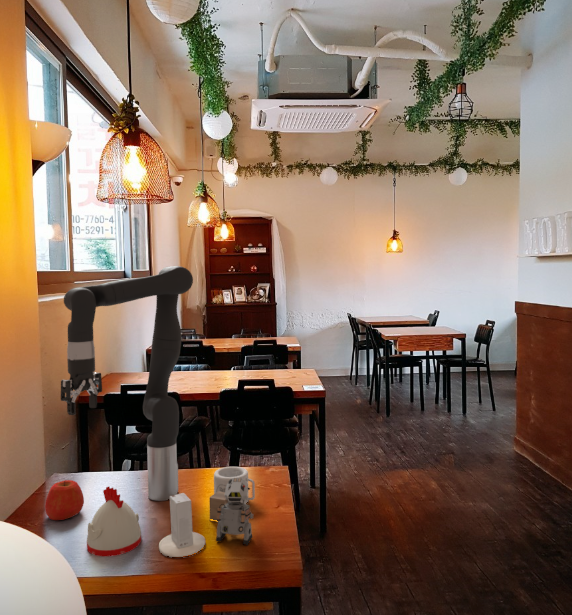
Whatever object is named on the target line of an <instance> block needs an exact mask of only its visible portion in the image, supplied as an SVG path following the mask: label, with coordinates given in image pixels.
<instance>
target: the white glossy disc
mask: <svg viewBox="0 0 572 615" xmlns="http://www.w3.org/2000/svg"><path fill="white" fill-rule="evenodd" d="M204 545H205V546H206V538H205V536H203V535H202V534H200V533H198V532H195V531H193V545H192V546H188V547H184V548H178V547H177V546H176V544H175V543H174V542H173V540H172V534H171V533H170V534H168V535H166V536H164V537H163V538H162V539H161V540H160V541H159V544H158V551H159V554H161V553H162V555H163V556H165V557H167V556H169V557H168V558H172V557H183V556H188V555H192V554H194V553H197V552H198V551H200V550H201V549H202V548H203V547H204ZM204 548H205V547H204ZM204 548H203V549H204ZM200 552H201V551H200ZM197 554H198V553H197ZM192 556H193V555H192ZM183 558H184V557H183Z"/></svg>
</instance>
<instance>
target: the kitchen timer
mask: <svg viewBox="0 0 572 615" xmlns="http://www.w3.org/2000/svg"><path fill="white" fill-rule="evenodd" d="M102 493H103V496H104V497H103V498H104V499H105V500H104V501H105V502H104V503H103V504H102V505H100V507H99V508H98V509H97V510H96V511H95V514H94V515H93V518H92V520H91V522H90V523H88V524H87V537H86V549H87V552H89V554H91V555H93V556H97V557H113V556H114V557H115V556H120V555H123V554H127V553H129V552H131V551H133V550H135V549H136V548H137V547H139V545H141V542H142V530H141V526H140V522H139V521H140V517H139V516H140V515H139V514H138V512H137V513H135V512H134V509H132V507H131V506H130V505H129V504H128V503H127V502H125V501H124V499H120V498H121V494H120V493H119V494H118V489H117V488H114V487H110V486H106V487H105V489H103V490H102ZM126 552H127V553H126Z"/></svg>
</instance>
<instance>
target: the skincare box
mask: <svg viewBox="0 0 572 615" xmlns="http://www.w3.org/2000/svg"><path fill="white" fill-rule="evenodd" d="M169 509H170V510H169V511H170V529H171V532H170V534H172V540H173V542H174V543H175V544H176V546H177V547H178V548H184V547H188V546H192V545H193V532H194V530H193V511H192V500H191V499H190V498H189V496H187V494H186V493H185V492H182V493H177V495H172V496H170V499H169Z"/></svg>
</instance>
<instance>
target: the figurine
mask: <svg viewBox="0 0 572 615" xmlns="http://www.w3.org/2000/svg"><path fill="white" fill-rule="evenodd" d="M250 489H251V488H250V487H249V483H248V484H247V483H246V482H245V481H244V480H243V479H242V478H233V479H231V480H229V483H228V484H227V486H226V490H225V494H224V495H225V498H226V500H228V503H227V504H221V505H223V506H221V505H220V506H221V508H220V506H219V508H218V510H217V521H218V522H217V526H216V537H215V542H217V541H221V542H222V541H223V539H224V538H225V537H226V535H233V536H238V535H243V541H242V545H243V544H246V545H245V546H248V545H249V544H250V542H251V541H252V539H251V538H253V532H252V523H251V522H249V521H250V520H249V519H254V513H252V511H251V505H250V504H244V501H245V499H246V497H247V492H248V493H249V490H250ZM242 500H243V503H242V502H241V501H242ZM224 536H225V537H224ZM250 540H251V541H250ZM249 541H250V542H249ZM248 543H249V544H248Z"/></svg>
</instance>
